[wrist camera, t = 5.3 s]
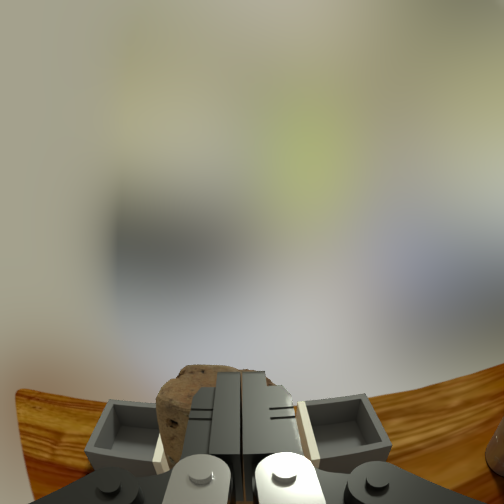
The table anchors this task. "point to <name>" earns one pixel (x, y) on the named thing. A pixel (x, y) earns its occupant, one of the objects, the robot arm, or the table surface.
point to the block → (186, 407)
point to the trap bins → (308, 421)
